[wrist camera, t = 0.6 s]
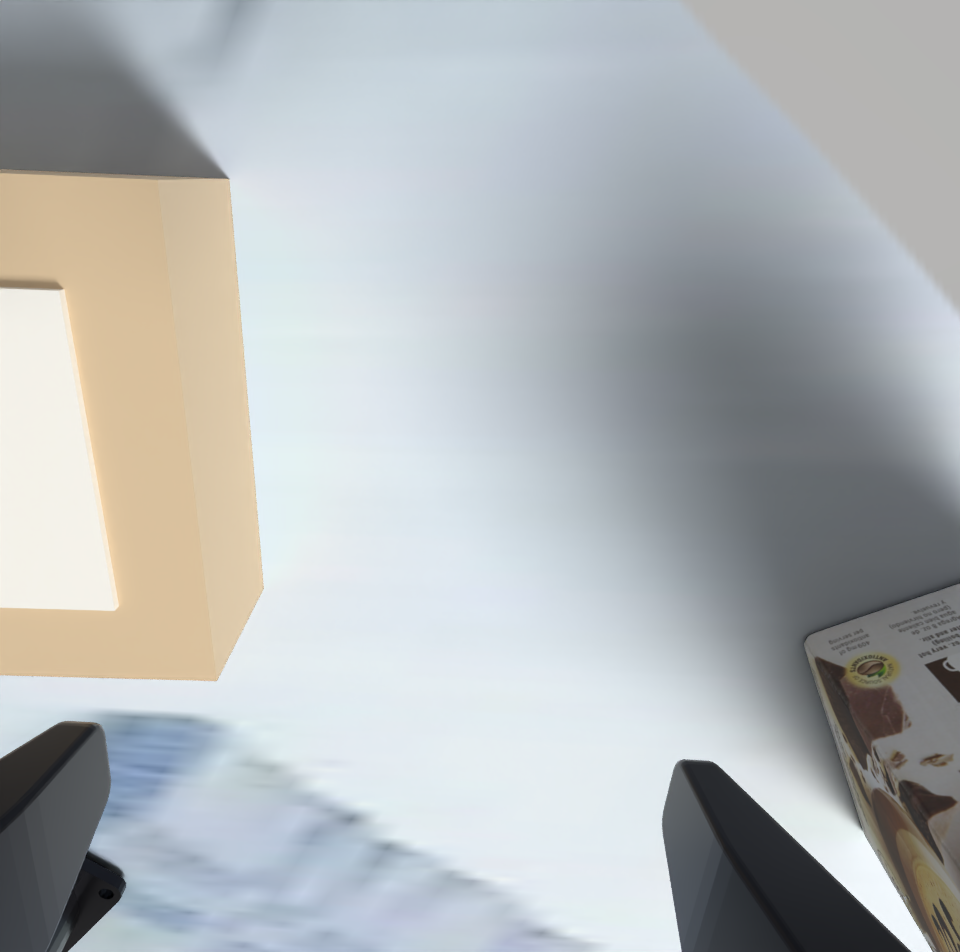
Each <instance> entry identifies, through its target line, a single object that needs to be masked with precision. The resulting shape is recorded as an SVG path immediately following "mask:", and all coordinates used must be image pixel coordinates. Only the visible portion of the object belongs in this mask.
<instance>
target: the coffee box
mask: <svg viewBox="0 0 960 952" xmlns="http://www.w3.org/2000/svg"><path fill="white" fill-rule="evenodd" d="M804 647H805V651H806V654H807V657H808V661H809V664H810V667H811V670H812V674H813V677H814V680H815V683H816V686H817V689H818V692H819V696H820V699H821V702H822V705H823V708H824V711H825V714H826V717H827V720H828V723H829V726H830V729H831V732H832V735H833V738H834V741H835V744H836V747H837V750H838V753H839V757H840V760H841V763H842V766H843V770H844V773H845V776H846V779H847V782H848V785H849V788H850V791H851V794H852V798H853V801H854V804H855V807H856V810H857V813H858V816H859V819H860V823H861V826H862V829H863V831H864V834H865V837H866V838H867V840H868V842H869V844H870V845H871V847H872V849H873V850H874V852H875V854H876V855H877V857H878V859H879V861H880V862H881V864H882V866H883V867H884V869H885V871H886V873H887V874H888V876H889V878H890V880H891V881H892V883H893V885H894V887H895V888H896V890H897V892H898V893H899V895H900V897H901V898H902V900H903V902H904V903H905V905H906V907H907V909H908V910H909V912H910V914H911V916H912V917H913V919H914V921H915V922H916V924H917V926H918V927H919V929H920V931H921V932H922V934H923V936H924V937H925V939H926V941H927V942H928V944H929V946H930V948H931V949H932V951H933V952H960V583H959V584H956V585H953V586H951V587H948V588H945V589H942V590H939V591H937V592H933V593H930V594H927V595H924V596H921V597H918V598H915V599H912V600H909V601H906V602H903V603H901V604H898V605H895V606H892V607H889V608H886V609H883V610H880V611H877V612H874V613H871V614H868V615H865V616H862V617H859V618H857V619H854V620H851V621H848V622H845V623H842V624H839V625H836V626H833V627H830V628H827V629H824V630H822V631H819V632H816V633H813V634H811V635H810V636H808V637H807V639H806V641H805V643H804Z"/></svg>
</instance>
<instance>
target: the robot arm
mask: <svg viewBox="0 0 960 952" xmlns="http://www.w3.org/2000/svg"><path fill="white" fill-rule="evenodd" d="M110 787H111V776H110V768H109V761H108V753H107V745H106V738H105V733H104V730H103V728H102V726H101V725H100V724H97V723H93V722H77V721H64V722H60V723H58V724H56V725H54V726H53V727H51V728H49V729H48V730H46V731H44V732H43V733H41V734H40V735H38V736H36V737H35V738H33V739H32V740H30V741H28V742H27V743H25V744H23V745H22V746H20V747H19V748H17V749H15V750H14V751H12V752H10V753H9V754H7V755H6V756H4V757H2V758H1V759H0V952H68V951H69V950H70V949H71V948H72V947H73V946H74V945H75V944H76V943H77V942H78V941H79V940H80V939H81V938H82V937H83V936H84V935H85V934H86V933H87V932H88V931H89V930H90V929H91V928H92V927H93V926H94V925H95V924H96V923H97V922H98V921H99V920H100V919H101V918H102V917H103V916H104V915H105V914H106V913H107V912H108V911H109V910H110V909H111V908H112V907H113V906H114V905H115V904H116V903H117V902H118V901H119V900H120V898H121V896H122V894H123V892H124V890H125V888H126V882H125V881H124V879H123V878H121V877H120V876H119V875H117V874H115V873H113V872H111V871H109V870H108V869H106V868H104V867H102V866H100V865H98V864H97V863H95V862H93V861H91V860H89V859H87V858H86V857H85V856H86V854H87V851H88V849H89V846H90V844H91V841H92V839H93V836H94V834H95V831H96V829H97V826H98V824H99V821H100V819H101V816H102V814H103V811H104V809H105V806H106V803H107V801H108V797H109V793H110ZM662 829H663V838H664V844H665V851H666V857H667V863H668V869H669V875H670V882H671V888H672V894H673V900H674V906H675V912H676V919H677V925H678V931H679V937H680V943H681V950H682V952H911V951H910V950H909V949H908V948H907V947H906V946H905V945H904V944H903V943H902V942H901V941H900V940H899V939H898V938H897V937H896V936H895V935H893V934H892V933H891V932H890V931H889V930H888V929H887V928H886V927H885V926H884V925H883V924H882V923H881V922H880V921H879V920H878V919H877V918H876V917H875V916H874V915H873V914H872V913H871V912H870V911H869V910H868V909H866V908H865V907H864V906H863V905H862V904H861V903H860V902H859V901H858V900H857V899H856V898H855V897H854V896H853V895H852V894H851V893H850V892H849V891H848V890H847V889H846V888H845V887H844V886H843V885H842V884H841V883H840V882H838V881H837V880H836V879H835V878H834V877H833V876H832V875H831V874H830V873H829V872H828V871H827V870H826V869H825V868H824V867H823V866H822V865H821V864H820V863H819V862H818V861H817V860H816V859H815V858H814V857H813V856H812V855H810V854H809V853H808V852H807V851H806V850H805V849H804V848H803V847H802V846H801V845H800V844H799V843H798V842H797V841H796V840H795V839H794V838H793V837H792V836H791V835H790V834H789V833H788V832H787V831H786V830H785V829H784V828H782V827H781V826H780V825H779V824H778V823H777V822H776V821H775V820H774V819H773V818H772V817H771V816H770V815H769V814H768V813H767V812H766V811H765V810H764V809H763V808H762V807H761V806H760V805H759V804H758V803H757V802H755V801H754V800H753V799H752V798H751V797H750V796H749V795H748V794H747V793H746V792H745V791H744V790H743V789H742V788H741V787H740V786H739V785H738V784H737V783H736V782H735V781H734V780H733V779H732V778H731V777H730V776H729V775H727V774H726V773H725V772H724V771H723V770H722V769H721V768H720V767H719V766H718V765H717V764H715V763H713V762H710V761H702V760H686V759H683V760H680V761H678V762H677V763H676V765H675V767H674V770H673V774H672V778H671V782H670V786H669V790H668V794H667V798H666V802H665V806H664V810H663V818H662Z"/></svg>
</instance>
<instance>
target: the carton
mask: <svg viewBox="0 0 960 952" xmlns="http://www.w3.org/2000/svg"><path fill="white" fill-rule="evenodd" d="M263 589H264V585H263V573H262V561H261V549H260V538H259V526H258V514H257V502H256V490H255V478H254V467H253V455H252V443H251V431H250V419H249V407H248V396H247V384H246V372H245V360H244V348H243V336H242V325H241V313H240V301H239V289H238V277H237V265H236V254H235V242H234V230H233V218H232V206H231V194H230V183H229V179H222V178H198V177H175V176H151V175H128V174H104V173H81V172H57V171H34V170H10V169H0V675H13V676H51V677H88V678H125V679H162V680H199V681H217V680H218V678H219V676H220V674H221V672H222V670H223V668H224V666H225V664H226V662H227V660H228V658H229V656H230V654H231V652H232V650H233V648H234V646H235V644H236V642H237V640H238V638H239V636H240V634H241V632H242V630H243V628H244V627H245V625H246V623H247V621H248V619H249V617H250V615H251V613H252V611H253V609H254V607H255V605H256V603H257V601H258V599H259V597H260V595H261V593H262V591H263Z"/></svg>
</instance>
